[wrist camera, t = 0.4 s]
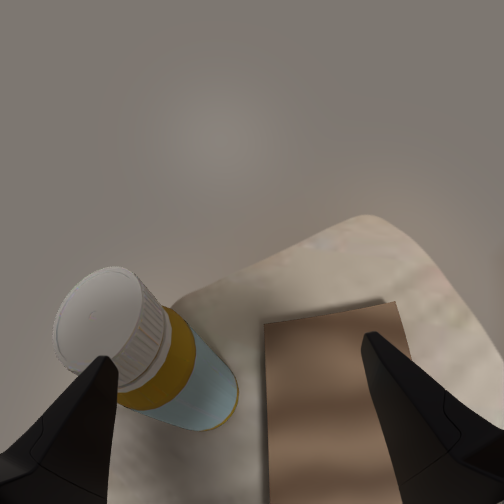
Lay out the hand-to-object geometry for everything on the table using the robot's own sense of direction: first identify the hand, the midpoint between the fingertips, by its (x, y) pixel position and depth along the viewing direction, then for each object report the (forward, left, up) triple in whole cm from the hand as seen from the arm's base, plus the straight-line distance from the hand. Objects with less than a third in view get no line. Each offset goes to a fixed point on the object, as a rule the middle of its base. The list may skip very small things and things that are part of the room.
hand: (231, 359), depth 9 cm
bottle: (+3, +7, -16) cm, 17 cm away
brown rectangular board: (0, -5, -15) cm, 16 cm away
